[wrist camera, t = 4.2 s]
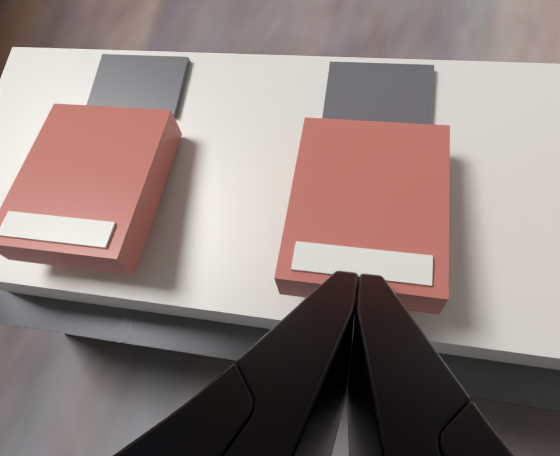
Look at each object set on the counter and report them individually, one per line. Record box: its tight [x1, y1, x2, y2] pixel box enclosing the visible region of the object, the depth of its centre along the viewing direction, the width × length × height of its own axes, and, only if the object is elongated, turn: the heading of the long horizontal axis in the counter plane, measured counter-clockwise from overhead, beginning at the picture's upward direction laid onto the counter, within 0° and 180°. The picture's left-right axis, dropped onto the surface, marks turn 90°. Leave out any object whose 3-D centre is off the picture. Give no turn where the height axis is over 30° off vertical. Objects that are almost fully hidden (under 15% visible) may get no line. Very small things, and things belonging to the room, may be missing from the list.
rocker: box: [0, 104, 182, 276], centre depth 11 cm, size 3×4×1 cm
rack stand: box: [0, 290, 560, 411], centre depth 16 cm, size 24×9×5 cm, turn 81°
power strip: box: [0, 47, 560, 370], centre depth 12 cm, size 22×7×3 cm, turn 81°
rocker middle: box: [274, 117, 450, 314], centre depth 10 cm, size 3×4×1 cm
